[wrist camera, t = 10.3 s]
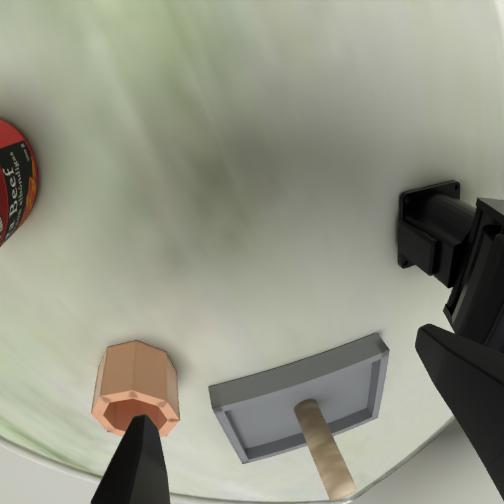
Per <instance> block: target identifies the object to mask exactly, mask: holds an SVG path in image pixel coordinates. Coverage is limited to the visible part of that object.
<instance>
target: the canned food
mask: <svg viewBox="0 0 504 504" xmlns="http://www.w3.org/2000/svg"><path fill="white" fill-rule="evenodd" d="M37 185H38V172H37V166H36V160H35V157H34V154H33V151H32V149H31V147H30V145H29V143H28V141H27V140H26V138H25V137H24V136H23V135H22V133H21V132H20V131H19V130H17V129H16V128H15V127H14V126H12V125H10V124H8V123H7V122H5V121H3V120H1V119H0V247H1V246H2V245H3V244H4V242H5V241H6V240H7V239H8V238H9V237H10V236H11V235H12V234H13V233H14V232H15V231H16V230H17V229H18V228H19V227H20V226H21V225H22V224H23V223H24V221H25V220H26V219H27V217H28V215H29V213H30V211H31V209H32V206H33V203H34V200H35V196H36V192H37Z"/></svg>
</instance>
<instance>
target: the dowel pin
mask: <svg viewBox="0 0 504 504" xmlns="http://www.w3.org/2000/svg"><path fill="white" fill-rule="evenodd" d="M294 412H295V415H296V417H297V420H298V422H299V425H300V427H301V430H302V432H303V435H304V437H305V440H306V442H307V445H308V447H309V450H310V452H311V455H312V457H313V460H314V462H315V465H316V467H317V470H318V472H319V474H320V477H321V479H322V482H323V484H324V487H325V489H326V491H327V494H328V496H329V499H330V500H332V501H333V500H338V499H341V498H344V497H346V496H348V495H350V494H352V493H354V492H355V491H356V490H357V487H356V485H355V483H354V481H353V479H352V477H351V474H350V472H349V470H348V468H347V466H346V464H345V462H344V460H343V457H342V455H341V453H340V451H339V449H338V447H337V445H336V442H335V440H334V438H333V436H332V434H331V432H330V430H329V428H328V425H327V423H326V421H325V419H324V417H323V415H322V413H321V410H320V408H319V406H318V404H317V402H316V400H314V399H306V400H303V401H301V402H299V403H298V404H297V405H296V406H295V407H294Z"/></svg>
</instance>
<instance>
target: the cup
mask: <svg viewBox="0 0 504 504" xmlns="http://www.w3.org/2000/svg"><path fill="white" fill-rule="evenodd" d="M91 414H92V415H93V416H94V417H95V418H96V419H97V421H98V422H99V423H100V424H101V425H102V426H103V427H104V428H105V429H106V430H107V432H110V433H113V434H117V435H120V436H124V434H125V432H126V430H127V428H128V426H129V424H130V422H131V420H132V418H133V417H134V416H135V415H140V414H147V415H148V416H149V418H150V419H151V420H152V421H153V423H154V424H155V425H156V427H157V428H158V431H159V435H160V437H163V436H167V435H168V434H169V432H170V431H171V430H172V429H173V428H174V427H175V425H176V424H177V423H178V422H179V421H180V413H179V400H178V387H177V372H176V371H175V369H174V367H173V365H172V363H171V361H170V359H169V357H168V356H167V354H166V352H165V351H162V350H159V349H157V348H154V347H151V346H149V345H146V344H143V343H141V342H138V341H133V342H129V343H124V344H120V345H116V346H111V347H107V350H106V353H105V355H104V357H103V359H102V361H101V363H100V366H99V368H98V373H97V379H96V385H95V391H94V397H93V404H92V411H91Z"/></svg>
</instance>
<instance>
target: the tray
mask: <svg viewBox="0 0 504 504" xmlns="http://www.w3.org/2000/svg"><path fill="white" fill-rule="evenodd" d="M389 350H390V349H389V348H388V347H387V346H386V344H385V343H384V342H383V340H382V339H381V338H380V337H379V335H378V334H377V333H374V334H372V335H369V336H367V337H364V338H362V339H359V340H356V341H354V342H351V343H348V344H346V345H343V346H340V347H338V348H335V349H332V350H329V351H327V352H324V353H321V354H318V355H315V356H312V357H309V358H306V359H303V360H300V361H297V362H294V363H291V364H288V365H285V366H281V367H278V368H275V369H272V370H268V371H265V372H262V373H258V374H255V375H251V376H248V377H244V378H240V379H237V380H233V381H229V382H225V383H222V384H218V385H214V386H210V387H209V393H210V399H211V405H212V409H213V411H214V413H215V415H216V417H217V419H218V421H219V423H220V424H221V426H222V428H223V430H224V432H225V434H226V435H227V437H228V439H229V441H230V443H231V444H232V446H233V448H234V450H235V452H236V453H237V455H238V457H239V459H240V460H241V462H242V464H245V463H249V462H253V461H257V460H261V459H265V458H268V457H272V456H275V455H279V454H282V453H285V452H289V451H292V450H295V449H298V448H301V447H304V446H307V442H306V440H305V437H304V435H303V432H302V430H301V427H300V425H299V422H298V420H297V417H296V415H295V412H294V407H295V406H296V405H297V404H298V403H299V402H301V401H303V400H306V399H314V400H316V402H317V404H318V406H319V408H320V410H321V413H322V415H323V417H324V419H325V421H326V423H327V425H328V428H329V430H330V432H331V434H332V436H335V435H338V434H340V433H343V432H345V431H348V430H350V429H353V428H355V427H358V426H360V425H362V424H365V423H367V422H369V421H372V420H374V419H376V418H378V414H379V409H380V404H381V399H382V393H383V388H384V382H385V376H386V370H387V363H388V357H389Z"/></svg>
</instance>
